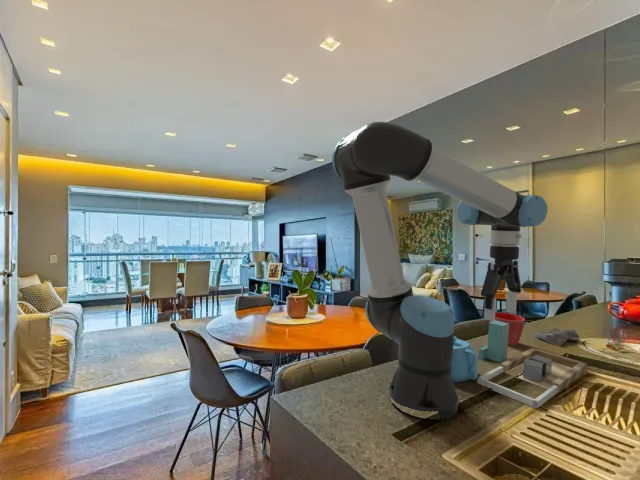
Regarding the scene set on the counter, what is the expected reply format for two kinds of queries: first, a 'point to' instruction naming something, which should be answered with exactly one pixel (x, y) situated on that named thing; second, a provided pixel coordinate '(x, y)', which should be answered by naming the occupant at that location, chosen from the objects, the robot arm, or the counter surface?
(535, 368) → the block
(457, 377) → the teapot
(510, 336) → the flower pot
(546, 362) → the block
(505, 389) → the tray
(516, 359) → the slot board
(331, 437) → the counter surface
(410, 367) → the robot arm
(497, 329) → the rake tool
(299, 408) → the counter surface
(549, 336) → the stone
